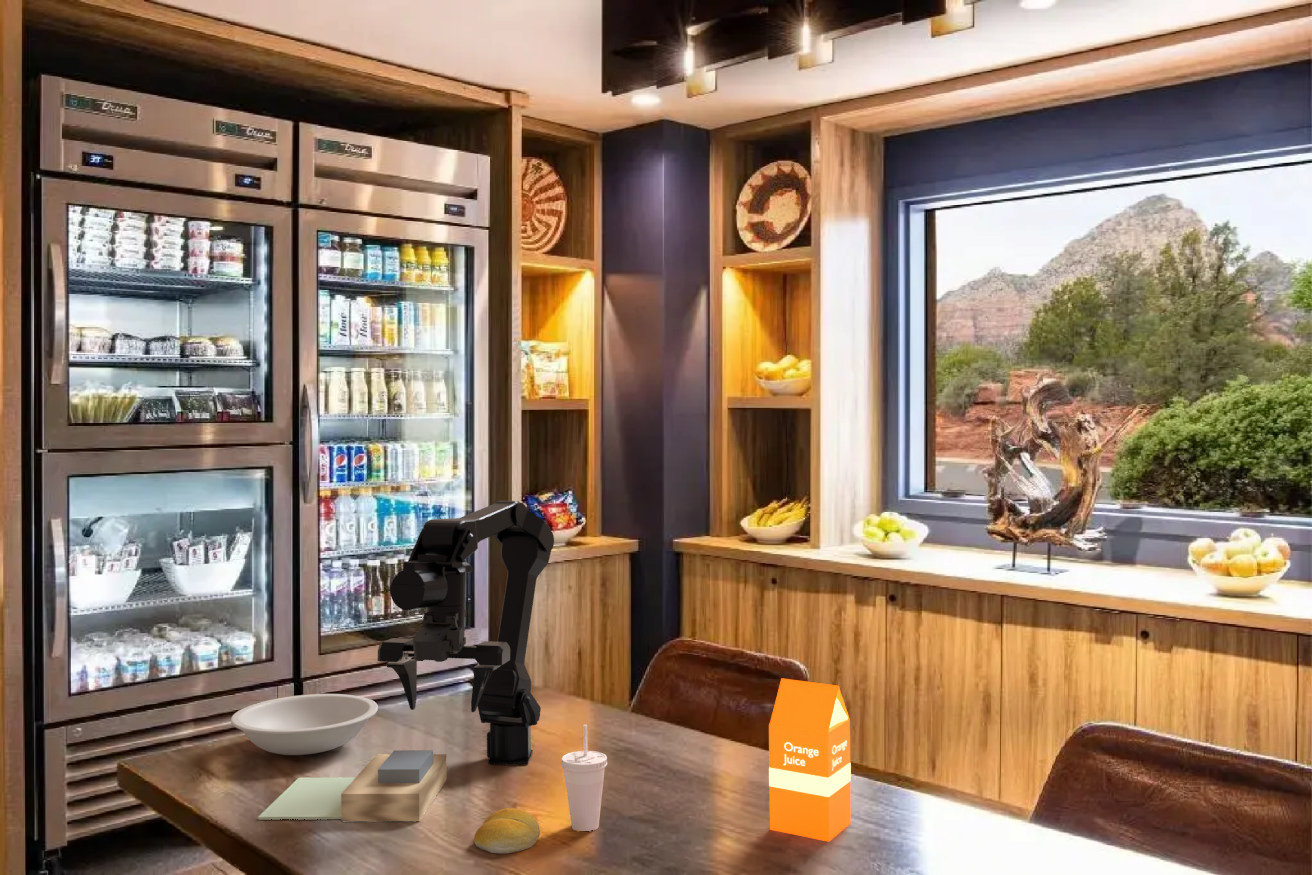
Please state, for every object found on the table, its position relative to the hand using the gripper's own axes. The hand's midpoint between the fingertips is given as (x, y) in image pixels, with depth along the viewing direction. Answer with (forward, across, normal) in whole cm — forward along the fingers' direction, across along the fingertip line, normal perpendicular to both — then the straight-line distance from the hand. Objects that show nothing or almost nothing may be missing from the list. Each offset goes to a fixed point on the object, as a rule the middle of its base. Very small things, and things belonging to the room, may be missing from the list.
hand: (443, 710), depth 169 cm
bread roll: (+15, +13, -14) cm, 24 cm away
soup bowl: (+12, -31, +24) cm, 41 cm away
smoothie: (+14, +23, -8) cm, 28 cm away
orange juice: (+13, +54, -6) cm, 56 cm away
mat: (+14, -19, 0) cm, 23 cm away
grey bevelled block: (+9, -5, 0) cm, 11 cm away
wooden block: (+13, -7, 0) cm, 15 cm away
